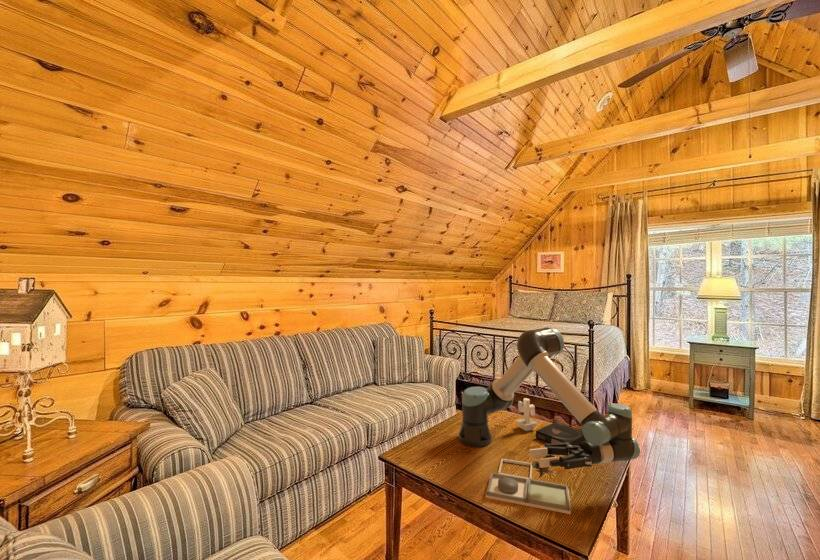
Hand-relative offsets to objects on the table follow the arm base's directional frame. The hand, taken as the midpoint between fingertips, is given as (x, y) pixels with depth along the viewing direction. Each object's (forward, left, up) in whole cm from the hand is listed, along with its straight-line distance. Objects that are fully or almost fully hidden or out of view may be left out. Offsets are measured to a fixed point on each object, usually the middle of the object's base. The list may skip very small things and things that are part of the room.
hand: (534, 458), depth 131 cm
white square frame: (-8, +18, -15) cm, 24 cm away
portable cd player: (+10, +53, -15) cm, 56 cm away
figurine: (-6, +60, -15) cm, 62 cm away
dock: (-2, +3, -15) cm, 15 cm away
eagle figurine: (+3, +3, -7) cm, 9 cm away
